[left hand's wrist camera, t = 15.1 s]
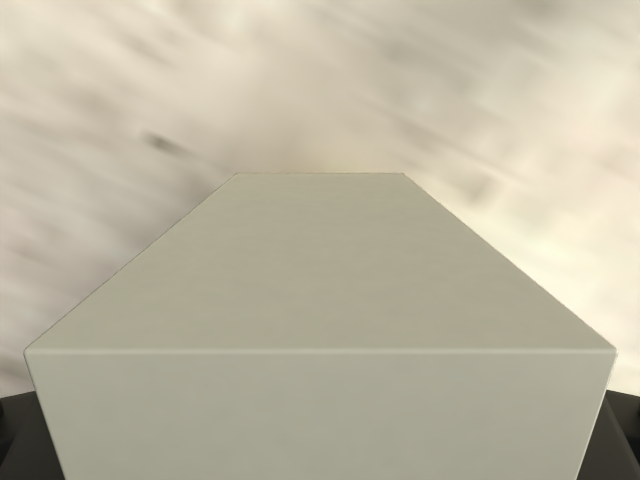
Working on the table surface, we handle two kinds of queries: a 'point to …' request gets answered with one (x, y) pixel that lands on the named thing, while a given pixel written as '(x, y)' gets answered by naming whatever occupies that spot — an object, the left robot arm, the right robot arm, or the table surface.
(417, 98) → the table surface
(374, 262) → the box
